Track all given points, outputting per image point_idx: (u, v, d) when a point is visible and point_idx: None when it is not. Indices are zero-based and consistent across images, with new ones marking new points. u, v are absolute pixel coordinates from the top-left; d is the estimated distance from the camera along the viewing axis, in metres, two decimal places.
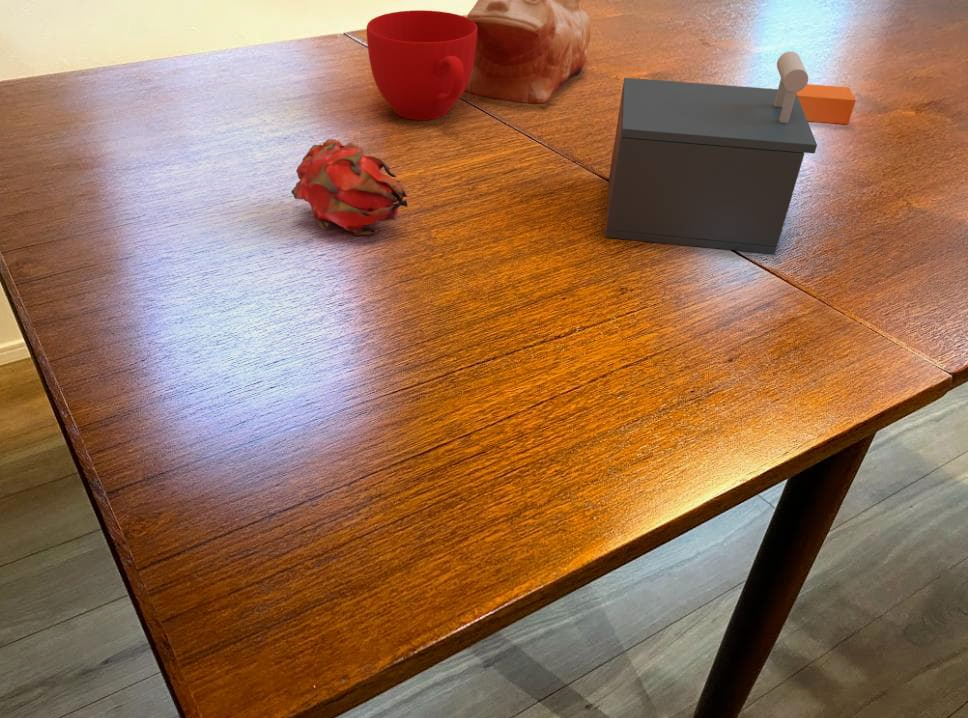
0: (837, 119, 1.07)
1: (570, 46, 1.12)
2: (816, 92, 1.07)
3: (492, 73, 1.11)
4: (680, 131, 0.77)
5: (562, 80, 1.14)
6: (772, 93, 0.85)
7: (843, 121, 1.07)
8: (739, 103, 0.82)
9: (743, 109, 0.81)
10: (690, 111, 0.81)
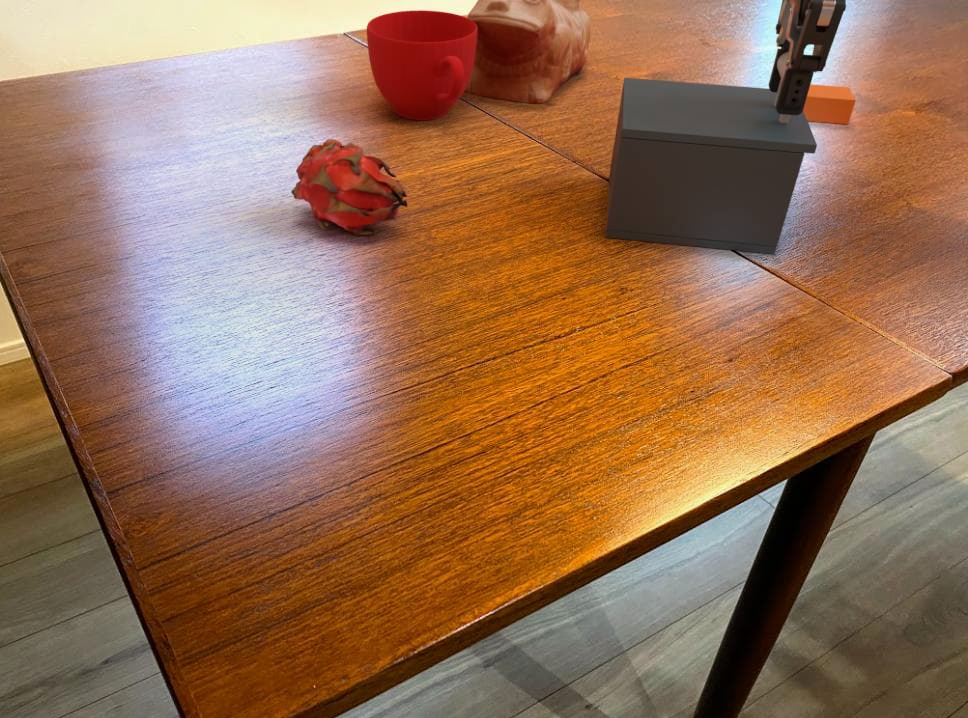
0: (837, 119, 1.07)
1: (570, 46, 1.12)
2: (816, 92, 1.07)
3: (492, 73, 1.11)
4: (680, 131, 0.77)
5: (562, 80, 1.14)
6: (771, 93, 0.85)
7: (843, 121, 1.07)
8: (739, 103, 0.82)
9: (743, 109, 0.81)
10: (690, 111, 0.81)
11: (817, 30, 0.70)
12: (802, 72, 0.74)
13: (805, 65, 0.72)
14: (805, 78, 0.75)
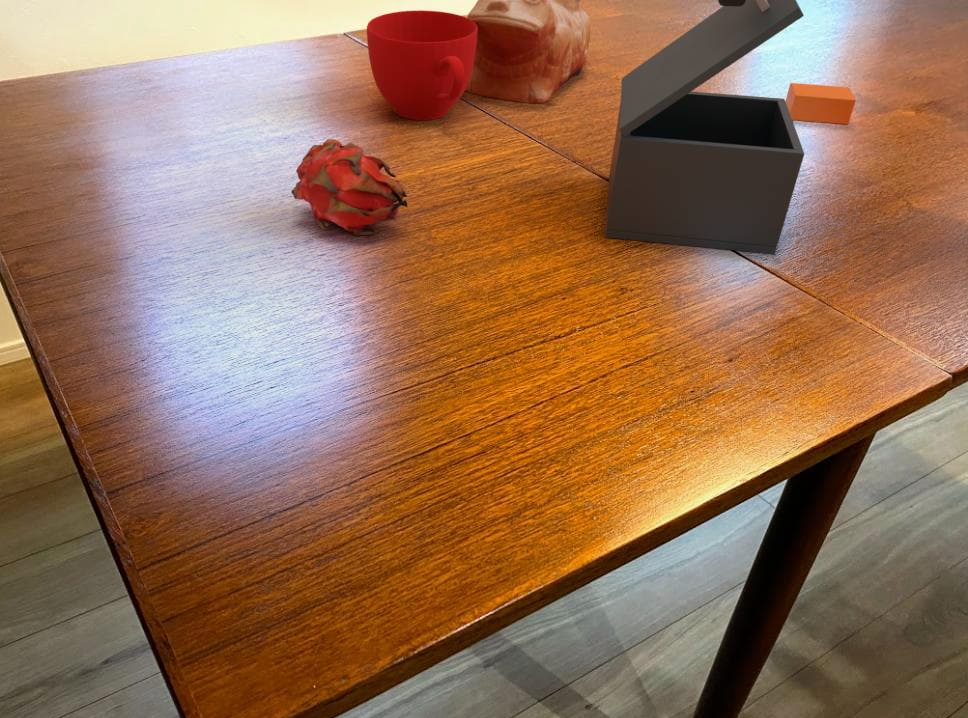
0: (837, 119, 1.07)
1: (570, 46, 1.12)
2: (816, 92, 1.07)
3: (492, 73, 1.11)
4: (669, 93, 0.75)
5: (562, 80, 1.14)
6: None
7: (843, 121, 1.07)
8: (724, 23, 0.78)
9: (727, 26, 0.77)
10: (678, 66, 0.78)
11: None
12: None
13: None
14: None
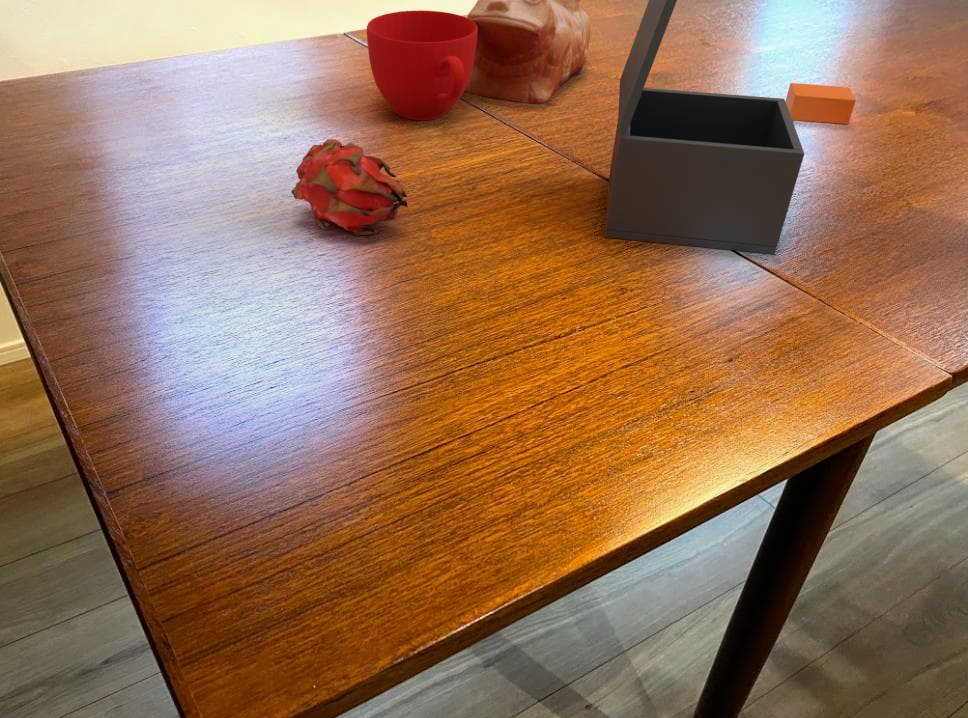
0: (837, 119, 1.07)
1: (570, 46, 1.12)
2: (816, 92, 1.07)
3: (492, 73, 1.11)
4: (638, 74, 0.75)
5: (562, 80, 1.14)
6: None
7: (843, 121, 1.07)
8: None
9: None
10: (642, 43, 0.78)
11: None
12: None
13: None
14: None
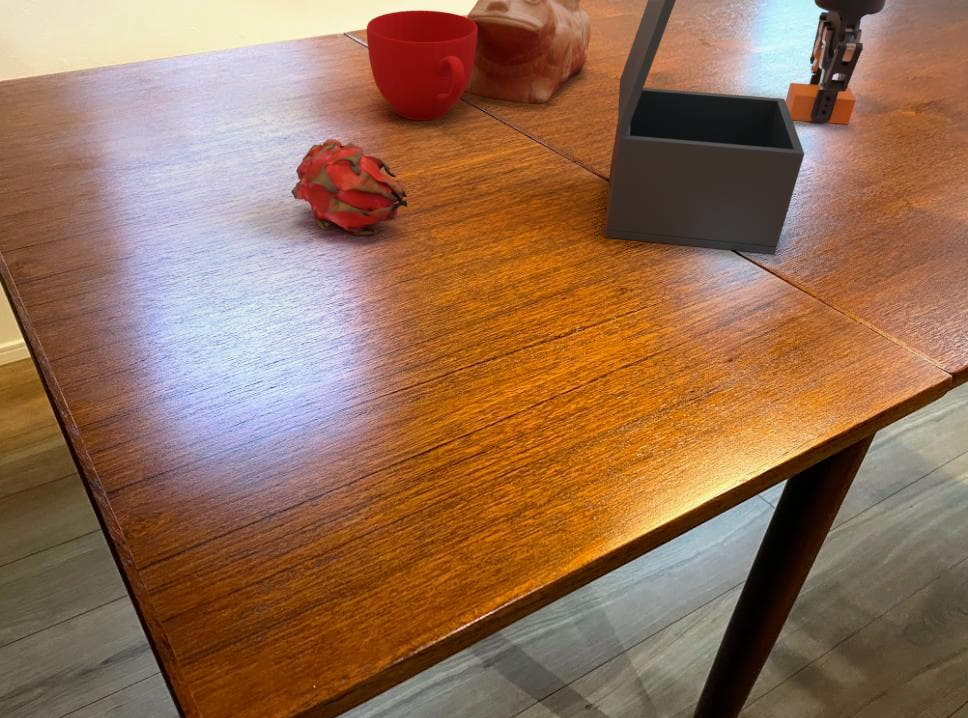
0: (837, 119, 1.07)
1: (570, 46, 1.12)
2: (816, 92, 1.07)
3: (492, 73, 1.11)
4: (637, 74, 0.75)
5: (562, 80, 1.14)
6: None
7: (843, 121, 1.07)
8: None
9: None
10: (642, 43, 0.78)
11: (842, 64, 1.00)
12: (830, 91, 1.04)
13: (833, 87, 1.02)
14: (832, 96, 1.04)
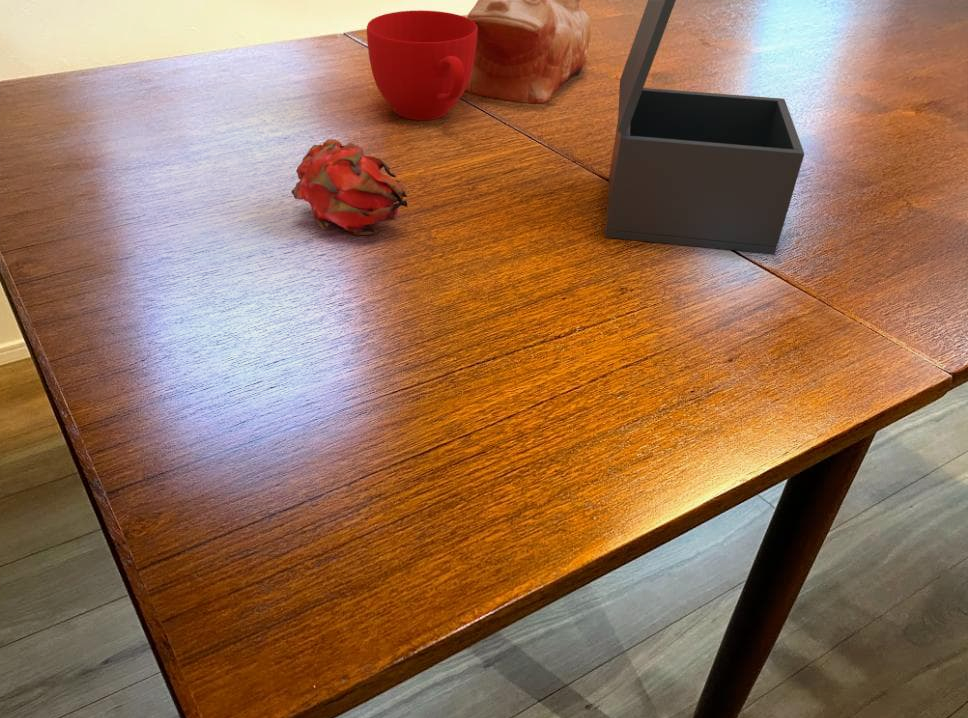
0: None
1: (570, 46, 1.12)
2: None
3: (492, 73, 1.11)
4: (637, 74, 0.75)
5: (562, 80, 1.14)
6: None
7: None
8: None
9: None
10: (642, 43, 0.78)
11: None
12: None
13: None
14: None
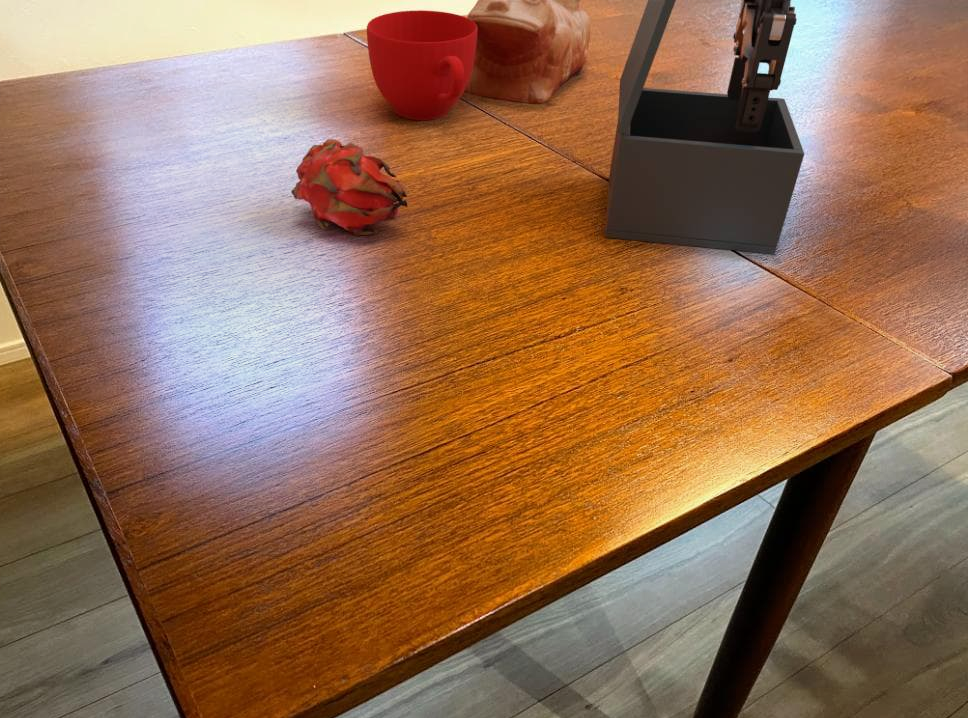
0: None
1: (570, 46, 1.12)
2: None
3: (492, 73, 1.11)
4: (637, 74, 0.75)
5: (562, 80, 1.14)
6: None
7: None
8: None
9: None
10: (642, 43, 0.78)
11: (770, 45, 0.71)
12: (758, 90, 0.75)
13: (760, 82, 0.73)
14: (761, 96, 0.75)
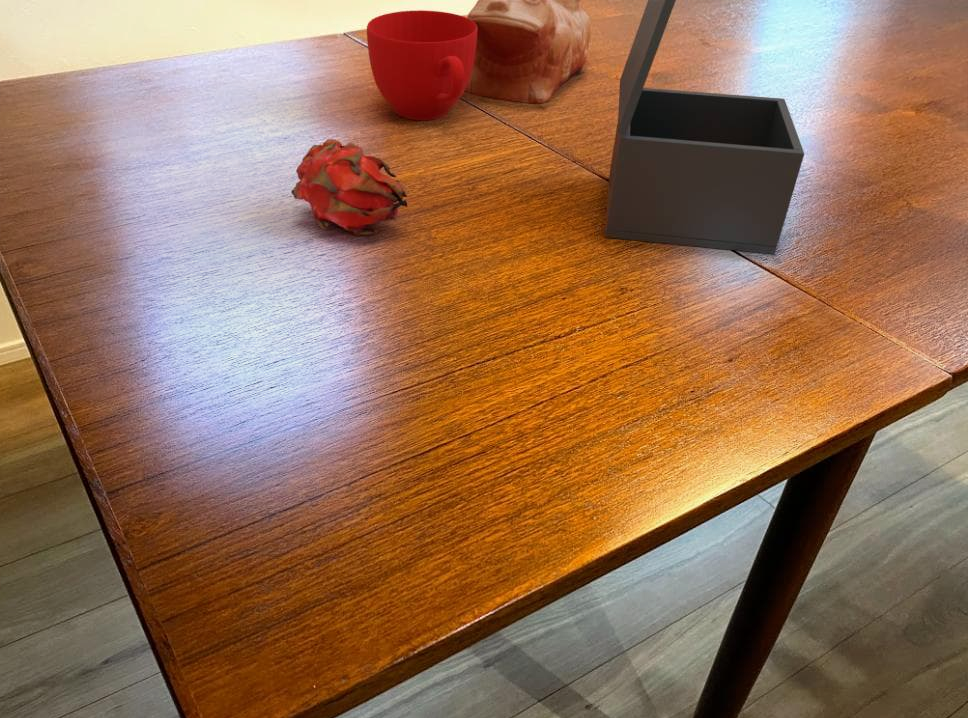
0: None
1: (570, 46, 1.12)
2: None
3: (492, 73, 1.11)
4: (637, 74, 0.75)
5: (562, 80, 1.14)
6: None
7: None
8: None
9: None
10: (642, 43, 0.78)
11: None
12: None
13: None
14: None
